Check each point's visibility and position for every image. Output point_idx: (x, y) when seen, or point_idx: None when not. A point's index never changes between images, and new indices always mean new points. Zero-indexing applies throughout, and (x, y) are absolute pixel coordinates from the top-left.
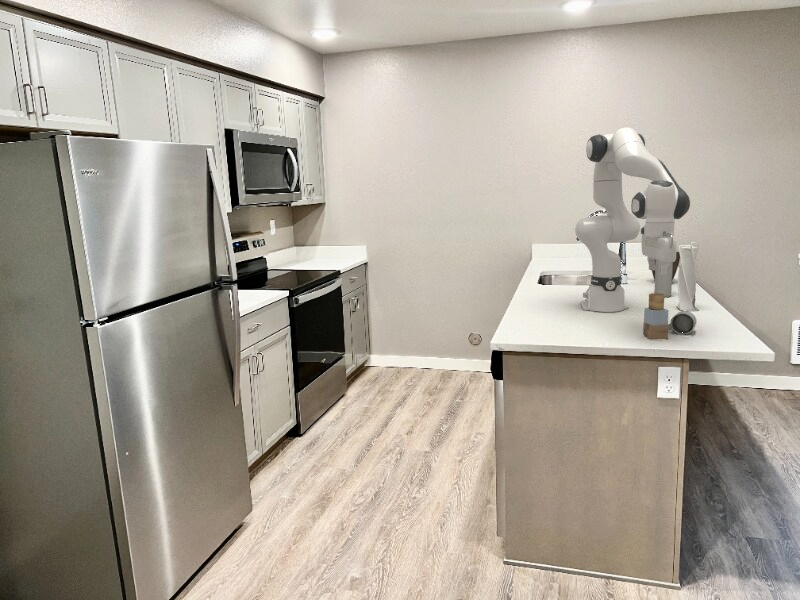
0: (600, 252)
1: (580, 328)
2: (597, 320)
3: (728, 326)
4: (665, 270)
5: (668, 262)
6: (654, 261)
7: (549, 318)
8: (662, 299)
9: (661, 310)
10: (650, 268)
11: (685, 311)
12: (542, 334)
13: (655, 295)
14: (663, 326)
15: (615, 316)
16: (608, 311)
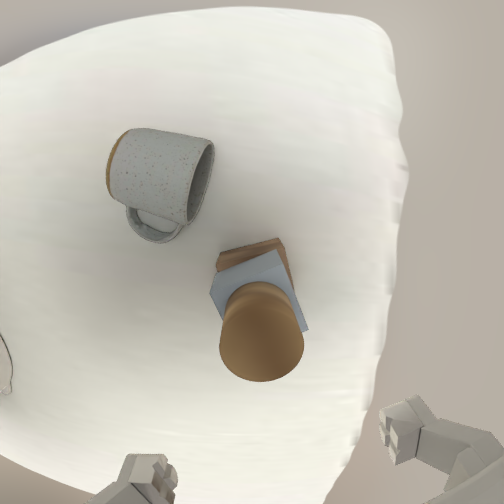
0: None
1: (183, 435)
2: (85, 391)
3: (91, 48)
4: (430, 421)
5: (497, 450)
6: (108, 501)
7: (109, 464)
8: (291, 312)
9: (292, 294)
10: (176, 485)
11: (136, 166)
12: (258, 484)
13: (295, 356)
14: (287, 264)
15: (31, 342)
16: (6, 350)
